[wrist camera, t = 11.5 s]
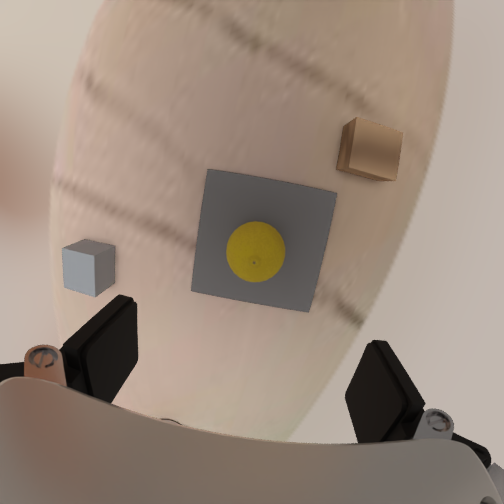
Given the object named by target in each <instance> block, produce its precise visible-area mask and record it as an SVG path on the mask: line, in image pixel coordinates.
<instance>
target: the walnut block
mask: <svg viewBox="0 0 504 504" xmlns="http://www.w3.org/2000/svg"><path fill="white" fill-rule="evenodd" d="M402 137H403V133H402V132H400V131H397V130H394V129H391V128H389V127H386V126H383V125H380V124H377V123H374V122H371V121H368V120H365V119H361V118H358V117H356V118H355V119H353V120H352V121H350V122H349V123H348V124H346V125H345V126H343V133H342V139H341V145H340V151H339V156H338V162H337V167H336V170H340V171H344V172H348V173H352V174H355V175H359V176H363V177H366V178H370V179H373V180H376V181H396V177H397V171H398V165H399V159H400V152H401V145H402Z"/></svg>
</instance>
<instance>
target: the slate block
mask: <svg viewBox="0 0 504 504" xmlns="http://www.w3.org/2000/svg"><path fill="white" fill-rule="evenodd" d="M62 260H63V278H64V288H67V289H70V290H73V291H77V292H80V293H83V294H86V295H89V296H93V297H96V296H98V295H99V294H101V293H102V292H103V291H105V290H106V289H107V288H109V287H110V286H111V285H113V284H114V283H115V245H110V244H105V243H100V242H95V241H90V240H86V239H84V240H82V241H79V242H76V243H74V244H71V245H69V246H66V247H64V248H62Z"/></svg>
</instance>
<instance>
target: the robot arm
mask: <svg viewBox="0 0 504 504" xmlns="http://www.w3.org/2000/svg"><path fill="white" fill-rule="evenodd" d="M137 361H138V335H137V303H136V302H134V300H133V298H132V297H128V296H124V295H120V294H119V295H118V296H116V297H115V298H114V299H113V300H112V301H111V302H109V303H108V304H107V305H106V306H105V307H104V308H103V309H101V310H100V311H99V312H98V313H97V314H96V315H95V316H93V317H92V318H91V319H90V320H89V321H88V322H87V323H86V324H84V325H83V326H82V327H81V328H80V329H79V330H78V331H77V332H76V333H75V334H73V335H72V336H71V337H70V338H69V339H68V340H67V341H66V342H65V343H64V344H63V347H62V348H61V349H60V350H58V349H57V348H55V347H54V346H50V345H38V346H35V347H32V348H31V349H29V350H28V351H27V353H26V354H25V358H24V362H19V363H10V364H0V504H504V470H503V469H502V468H501V467H500V466H498V465H497V464H496V463H493V464H492V465H491V456H490V454H489V452H488V450H487V449H486V448H485V447H483V446H481V445H479V444H477V443H474V442H472V441H470V440H468V439H466V438H464V437H461V436H459V435H457V434H455V433H453V429H454V423H453V420H452V418H451V417H450V416H449V415H448V414H447V413H445V412H444V411H442V410H439V409H428V410H426V411H424V409H423V407H424V405H425V402H424V400H423V399H422V397H421V395H420V393H419V392H418V390H417V388H416V387H415V385H414V383H413V382H412V380H411V378H410V377H409V375H408V374H407V372H406V370H405V369H404V367H403V366H402V364H401V362H400V361H399V359H398V358H397V356H396V355H395V353H394V352H393V350H392V349H391V347H390V345H389V344H388V342H387V341H381V340H373V341H372V342H371V343H368V344H367V346H366V348H365V351H364V353H363V355H362V358H361V360H360V362H359V364H358V367H357V369H356V371H355V373H354V376H353V378H352V380H351V382H350V384H349V386H348V388H347V391H346V394H345V400H346V403H347V407H348V410H349V413H350V417H351V420H352V423H353V427H354V430H355V434H356V437H357V441H358V443H355V444H354V443H351V444H318V443H296V442H282V441H271V440H262V439H254V438H246V437H239V436H233V435H227V434H221V433H216V432H211V431H206V430H201V429H196V428H192V427H187V426H183V425H179V424H175V423H171V422H167V421H164V420H160V419H157V418H153V417H150V416H147V415H143V414H140V413H137V412H134V411H131V410H128V409H125V408H122V407H119V406H116V405H114V404H111V403H112V401H113V399H114V398H115V396H116V395H117V393H118V392H119V390H120V388H121V387H122V385H123V384H124V382H125V381H126V379H127V378H128V376H129V374H130V373H131V371H132V370H133V368H134V367H135V365H136V363H137Z"/></svg>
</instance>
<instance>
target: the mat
mask: <svg viewBox="0 0 504 504" xmlns="http://www.w3.org/2000/svg"><path fill="white" fill-rule="evenodd" d="M336 197H337V193H334V192H330V191H326V190H321V189H317V188H312V187H307V186H303V185H298V184H293V183H288V182H283V181H277V180H272V179H267V178H261V177H255V176H250V175H244V174H237V173H231V172H225V171H218V170H211V169H208V171H207V177H206V183H205V189H204V195H203V202H202V208H201V215H200V222H199V229H198V237H197V244H196V252H195V260H194V269H193V278H192V287H191V291H193V292H198V293H203V294H208V295H213V296H218V297H223V298H228V299H233V300H239V301H244V302H250V303H255V304H261V305H266V306H272V307H278V308H284V309H290V310H296V311H303V312H309V310H310V307H311V303H312V299H313V295H314V292H315V288H316V284H317V280H318V276H319V272H320V268H321V264H322V260H323V256H324V252H325V248H326V243H327V239H328V234H329V230H330V225H331V221H332V216H333V211H334V207H335V202H336ZM253 221H257V222H264V223H267V224H269V225H271V226H272V227H274V228H275V229H276V230H277V231H278V232H279V233H280V235H281V237H282V239H283V241H284V245H285V258H284V262H283V265H282V266H281V268H280V269H279V271H278V272H277V273H276V274H275V275H274V276H273V277H271V278H269V279H268V280H266V281H262V282H249V281H245V280H243V279H241V278H239V277H238V276H237V275H236V274H235V273H234V272H233V271H232V269H231V268H230V266H229V263H228V261H227V255H226V249H227V243H228V240H229V238H230V236H231V235H232V233H233V232H234V231H235V230H236V229H237V228H238V227H240V226H241V225H243V224H245V223H248V222H253Z"/></svg>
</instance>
